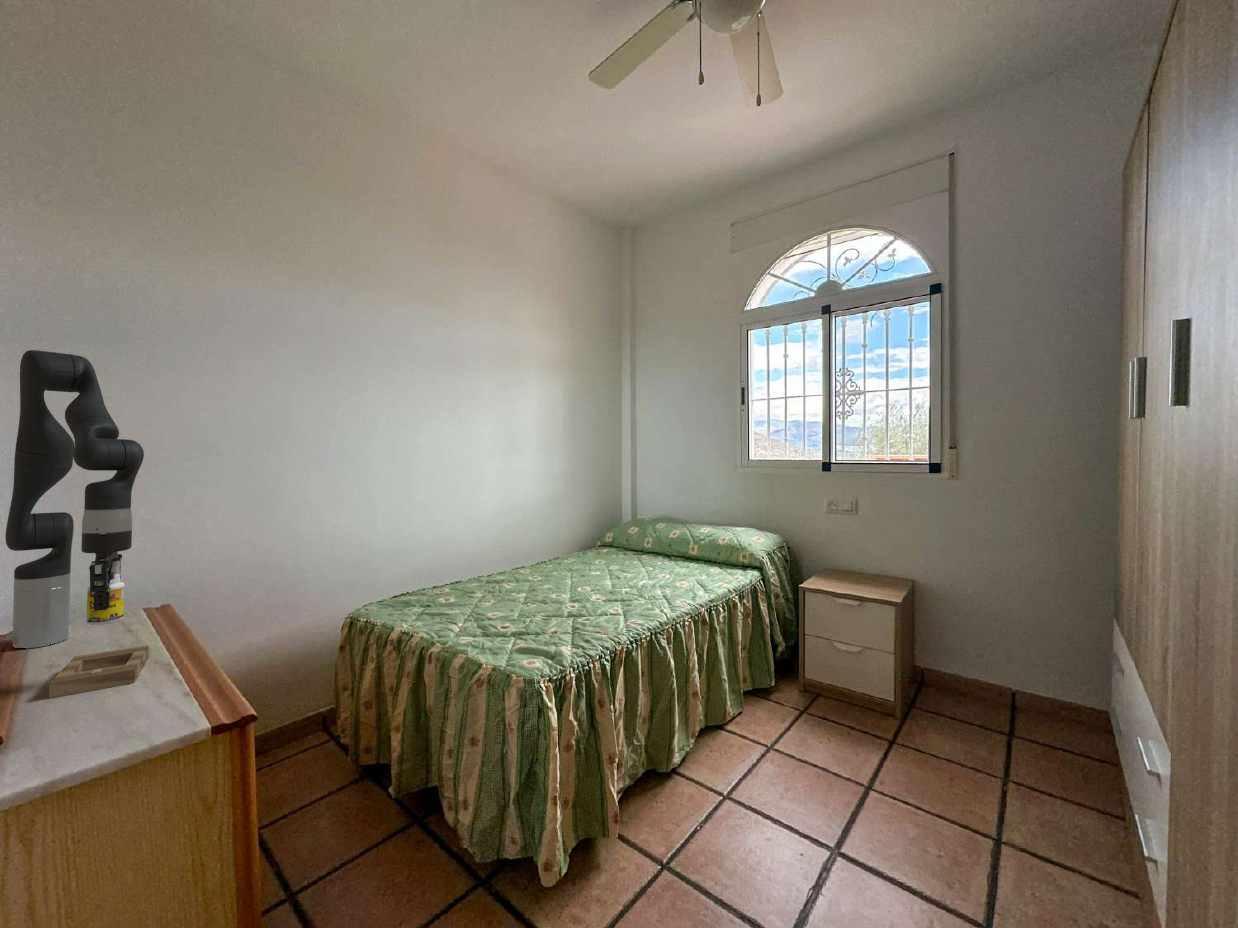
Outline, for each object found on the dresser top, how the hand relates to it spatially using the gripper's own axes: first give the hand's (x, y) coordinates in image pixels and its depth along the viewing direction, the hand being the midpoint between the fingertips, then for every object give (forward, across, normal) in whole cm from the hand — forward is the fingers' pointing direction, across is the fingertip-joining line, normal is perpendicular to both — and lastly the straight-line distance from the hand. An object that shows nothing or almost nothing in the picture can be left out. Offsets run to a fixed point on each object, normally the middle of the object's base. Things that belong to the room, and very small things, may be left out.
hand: (105, 605), depth 104 cm
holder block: (+15, 0, 0) cm, 15 cm away
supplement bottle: (+4, 0, 0) cm, 4 cm away
